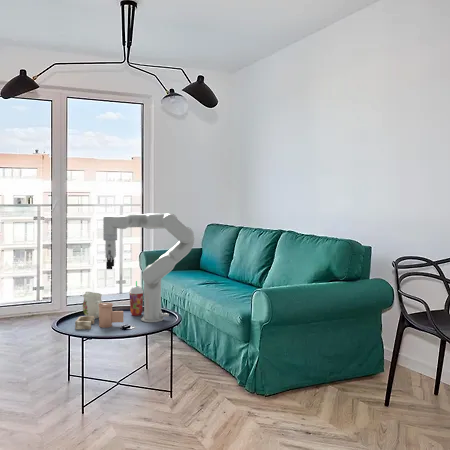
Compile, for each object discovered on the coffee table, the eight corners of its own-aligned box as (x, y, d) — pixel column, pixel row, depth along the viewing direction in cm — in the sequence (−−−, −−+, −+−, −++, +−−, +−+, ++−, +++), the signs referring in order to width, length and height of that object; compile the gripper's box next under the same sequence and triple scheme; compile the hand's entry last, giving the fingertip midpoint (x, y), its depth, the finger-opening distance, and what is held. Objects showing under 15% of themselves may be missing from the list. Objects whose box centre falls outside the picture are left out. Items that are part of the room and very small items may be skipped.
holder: (94, 323, 280) (94, 316, 280) (90, 329, 269) (90, 321, 269) (79, 323, 280) (79, 316, 279) (75, 329, 268) (75, 321, 268)
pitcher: (91, 322, 281) (90, 298, 280) (78, 316, 295) (77, 292, 294) (109, 319, 288) (109, 295, 287) (95, 313, 302) (95, 290, 301)
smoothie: (144, 312, 304) (144, 280, 302) (142, 316, 296) (142, 282, 294) (130, 312, 304) (130, 279, 302) (128, 316, 295) (128, 282, 294)
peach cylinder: (124, 323, 280) (124, 302, 279) (122, 327, 272) (122, 305, 271) (99, 324, 279) (99, 302, 278) (97, 328, 271) (97, 305, 270)
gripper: (115, 239, 276) (115, 270, 277) (118, 235, 293) (118, 265, 294) (101, 239, 275) (101, 270, 276) (105, 235, 292) (105, 265, 293)
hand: (110, 267), depth 285 cm, fingers open, 9 cm apart
